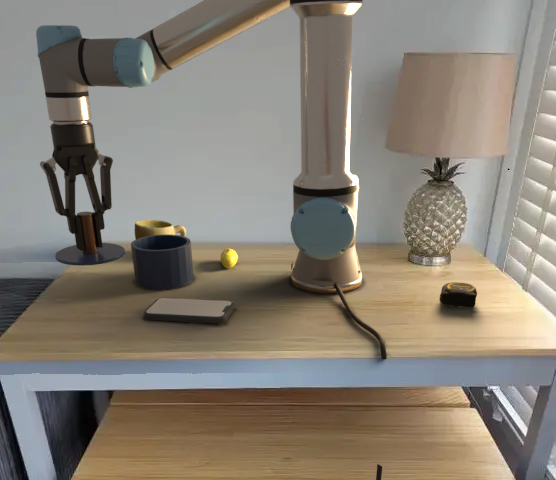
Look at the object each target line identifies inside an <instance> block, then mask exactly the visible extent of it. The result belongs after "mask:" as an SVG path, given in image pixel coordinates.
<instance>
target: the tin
mask: <svg viewBox="0 0 556 480" xmlns="http://www.w3.org/2000/svg"><path fill="white" fill-rule="evenodd" d="M130 249H131V257H132V258H131V259H132V264H133V272H134V273H133V275H134V280H135V284H136V286H138V287H140V288H142V289H145V290H152V291H153V290H154V291H165V290H174V289H175V290H176V289H179V288H183V287H186V286H187V285H189V284H191V283H192V282H193V281H194V267H193V253H192V241H191V239H190V238H189V237H186V236H185V237H184V236H180V234H175V235H151V236H145V237H142V238H139V239H134V240H133V241H132V242H131V243H130Z"/></svg>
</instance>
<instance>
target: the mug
mask: <svg viewBox="0 0 556 480" xmlns="http://www.w3.org/2000/svg"><path fill="white" fill-rule="evenodd" d="M177 234H179V235H180V236H184V237H186V236H187V229H186V227H185V226H183V225H181V224H178V225H175V226H174V225H173V224H172V223H170V222H168V221H165V220H158V219H145V220H137V221H135V223H134V240H136V239H139V238H142V237H145V236H151V235H177Z"/></svg>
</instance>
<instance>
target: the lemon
mask: <svg viewBox="0 0 556 480" xmlns="http://www.w3.org/2000/svg"><path fill="white" fill-rule="evenodd" d="M238 260H239V255H238V254H237V252H236V250H234V249H232V248H229V247H227V248H224V249H223V250H222V251H221V253H220V263H222V266H223V267H224V268H225V269H231V268H233V267H234V266H236V264H237V262H238Z"/></svg>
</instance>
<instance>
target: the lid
mask: <svg viewBox="0 0 556 480" xmlns="http://www.w3.org/2000/svg"><path fill="white" fill-rule="evenodd" d="M76 215H77V216H78V217H80V223H81V230H82V236H83V243H84V250H83V251H80V250H79V249H78V248H77V246H76V244H73V245H70V246H69V245H68V246H66V247H64V248H61V249H60V250H57V251H56V253H55V255H54V257H55V261H56V262H58V263H61V264H64V265H69V266H85V267H86V266H96V265H103V264H108V263H111V262H114V261H117V260H119V259H121V258H123V257H124V256H125V254H126V249H125V247H123V246H122V245H119V244H116V243H110V242H102V245H103V247H102V248H99V247H97V240H96V233H95V226H94V219H93V213H92V211H80V212H77V213H76Z"/></svg>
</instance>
